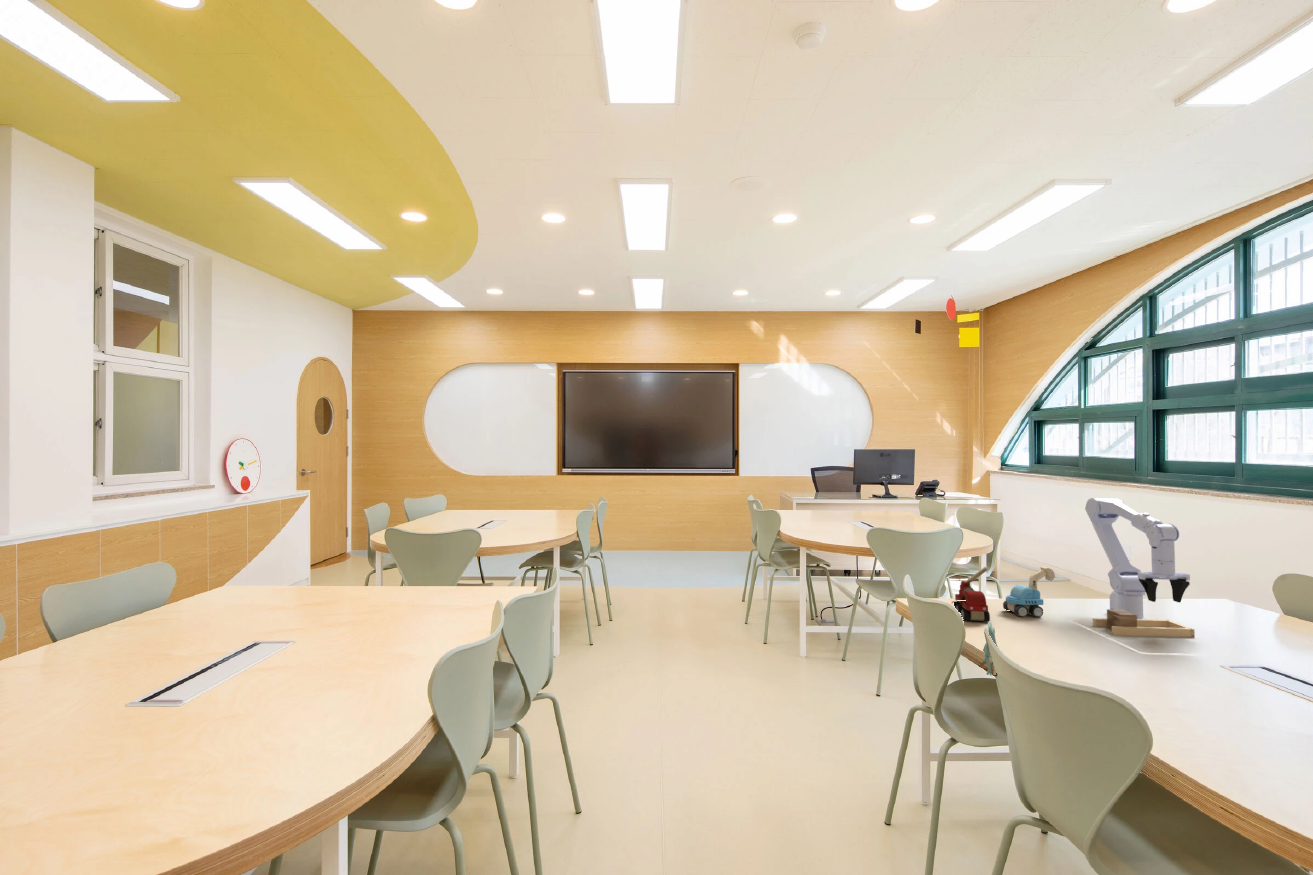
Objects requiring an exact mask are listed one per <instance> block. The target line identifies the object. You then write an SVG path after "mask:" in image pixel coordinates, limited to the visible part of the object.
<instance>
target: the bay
mask: <svg viewBox="0 0 1313 875" xmlns="http://www.w3.org/2000/svg"><path fill="white" fill-rule="evenodd" d="M1092 626H1093V627H1101V628H1102V627H1103V628H1104V627H1105V628H1108V627H1107V617H1106V618H1102V617H1101V618H1100V617H1099V618H1097V617H1092ZM1111 635H1113V636H1133V637H1134V636H1137V637H1139V636H1141V637H1180V638H1181V637H1182V638H1195V629H1194V628H1192V627H1189V626H1187V625H1184V624H1181V623H1178V622H1175V621H1173V620H1170V619H1148V618H1146V619H1137V627H1124V626H1112V629H1111Z"/></svg>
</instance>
